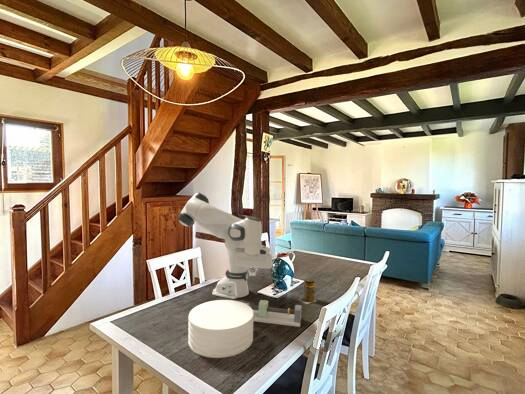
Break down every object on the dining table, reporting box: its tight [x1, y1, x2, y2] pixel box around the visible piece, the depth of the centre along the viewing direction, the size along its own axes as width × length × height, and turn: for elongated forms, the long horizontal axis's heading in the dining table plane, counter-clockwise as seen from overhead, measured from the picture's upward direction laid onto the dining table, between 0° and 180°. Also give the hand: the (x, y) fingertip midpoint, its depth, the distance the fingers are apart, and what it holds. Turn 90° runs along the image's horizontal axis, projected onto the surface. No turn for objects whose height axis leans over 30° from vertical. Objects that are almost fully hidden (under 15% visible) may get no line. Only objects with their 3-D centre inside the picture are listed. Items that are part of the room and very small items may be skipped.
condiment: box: [298, 278, 318, 305], centre depth 166 cm, size 7×8×12 cm
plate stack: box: [187, 299, 254, 359], centre depth 124 cm, size 28×28×12 cm
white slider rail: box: [244, 302, 302, 328], centre depth 143 cm, size 30×10×7 cm, turn 78°
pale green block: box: [258, 299, 269, 317], centre depth 144 cm, size 4×4×6 cm
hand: (252, 275), depth 144 cm, fingers closed
